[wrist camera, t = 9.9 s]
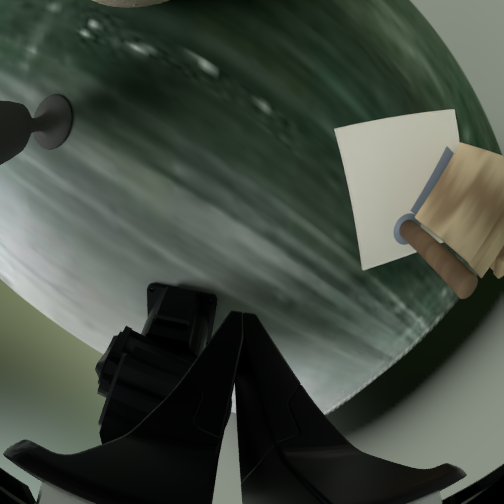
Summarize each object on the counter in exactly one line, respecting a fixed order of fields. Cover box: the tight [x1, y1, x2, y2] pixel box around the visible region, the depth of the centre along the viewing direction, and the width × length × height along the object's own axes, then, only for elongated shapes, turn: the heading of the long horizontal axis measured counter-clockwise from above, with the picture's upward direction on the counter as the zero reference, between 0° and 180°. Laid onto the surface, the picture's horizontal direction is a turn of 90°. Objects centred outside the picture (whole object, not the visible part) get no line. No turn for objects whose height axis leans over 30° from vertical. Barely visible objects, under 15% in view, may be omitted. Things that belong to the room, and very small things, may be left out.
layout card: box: [334, 109, 460, 270], centre depth 20 cm, size 12×12×1 cm
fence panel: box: [414, 143, 504, 278], centre depth 15 cm, size 9×1×9 cm, turn 151°
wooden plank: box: [399, 220, 504, 299], centre depth 17 cm, size 8×2×9 cm, turn 108°
